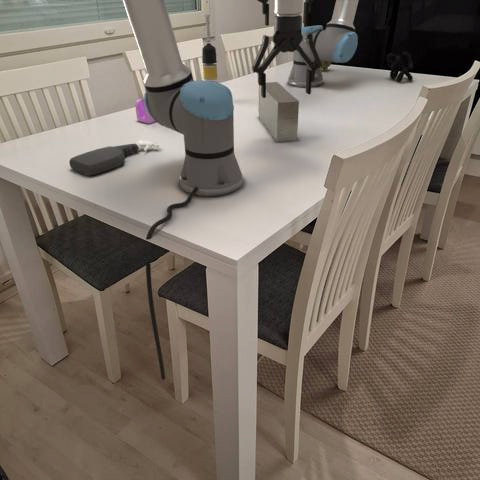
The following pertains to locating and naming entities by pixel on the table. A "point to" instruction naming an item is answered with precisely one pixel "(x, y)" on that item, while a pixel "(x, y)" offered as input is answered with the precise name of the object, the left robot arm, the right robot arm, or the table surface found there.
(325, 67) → the cup
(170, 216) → the left robot arm
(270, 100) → the box
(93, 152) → the spray bottle
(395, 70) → the squiggle
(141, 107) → the bracket
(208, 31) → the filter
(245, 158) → the table surface
